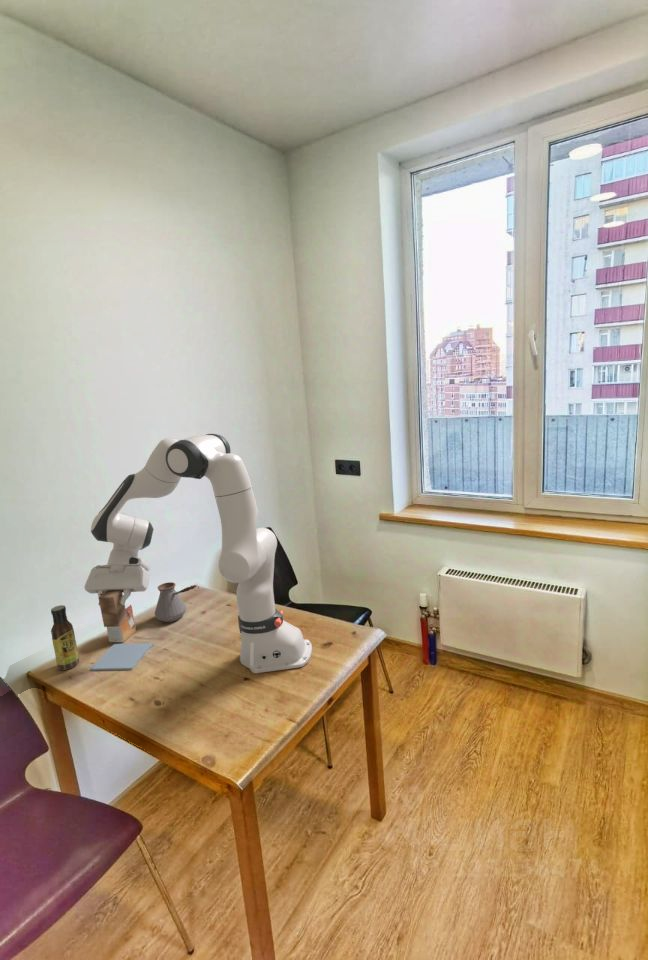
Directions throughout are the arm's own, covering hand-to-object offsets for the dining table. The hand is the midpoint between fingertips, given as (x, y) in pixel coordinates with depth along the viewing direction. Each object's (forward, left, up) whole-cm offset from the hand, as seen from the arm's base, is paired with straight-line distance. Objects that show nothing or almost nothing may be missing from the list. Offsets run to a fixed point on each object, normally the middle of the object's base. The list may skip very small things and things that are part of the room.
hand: (111, 605), depth 149 cm
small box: (+7, -14, -19) cm, 24 cm away
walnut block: (0, -1, -6) cm, 6 cm away
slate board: (0, -1, -19) cm, 19 cm away
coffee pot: (-10, -25, -19) cm, 33 cm away
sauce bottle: (+16, +3, -19) cm, 25 cm away
